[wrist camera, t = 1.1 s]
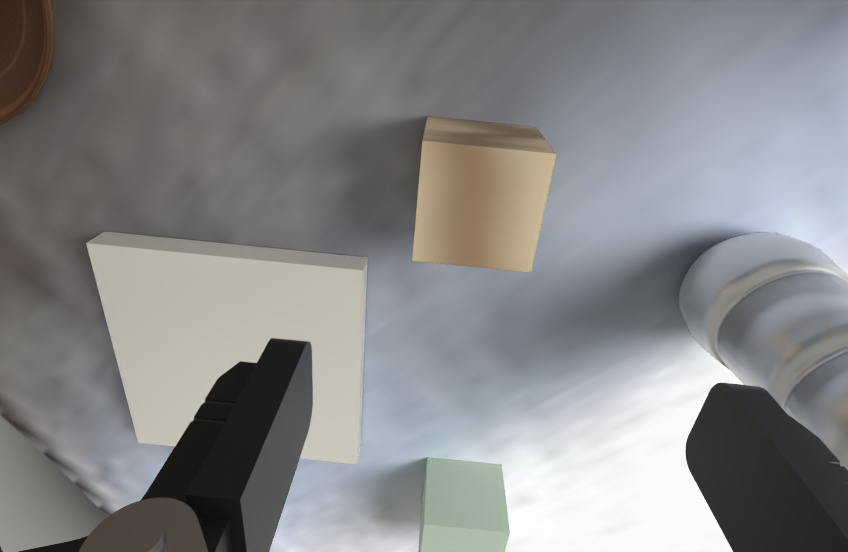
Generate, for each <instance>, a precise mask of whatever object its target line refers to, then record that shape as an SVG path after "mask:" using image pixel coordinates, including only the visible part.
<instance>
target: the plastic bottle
mask: <svg viewBox="0 0 848 552" xmlns="http://www.w3.org/2000/svg"><path fill="white" fill-rule="evenodd" d="M679 305H680V310H681V312H682V315H683V317H684V320H685V322H686V325H687V327H688V330H689V332H690V334H691V335H692V337H693V338H694V339H695V340H696V342H697V343H698V344H700V345H701V346H702V347H703V348H704V349H705V350H706V351H707V352H708V353H709V354H710V355H711V356H712V357H714V358H715V359H716V360H718V361H719V362H720V363H722V364H723V365H724V366H726V367H727V368H728V369H730V370H731V371H732V372H733V373H734V374H735V376H736V377H737V378H738V379H739V380H740V381H741V382H742V383H743V384H744V385H749V386H758V387H762V388H764V389H765V390H767V391H768V392H769V393H770V395H771V396H772V397H773V398H774V399H775V400H776V402H777V403H778V404H779V405H780V406H781V407H782V409H783V410H784V411H785V412H786V413H787V414H788V416H791V417H792V418H793V419H795V420H796V421H797V422H799V423H800V424H801V425H803V426H804V427H806V428H807V429H808V430H810V431H811V432H812V433H814V434H815V435H816V436H818V437H819V438H820V439H821V441H822V442H823V443H824V444H825V445H826V446H827V447H828V448H829V450H830V451H831V452H832V453H833V454H834V455H835V456H836V457H837V459H838V460H839V461H840V466H845V468H846V469H847V470H848V276H847V274H846V273H845V272H844V271H843V270H842V269H841V268H839V267H838V266H837V265H836V264H835V263H834V262H833V261H832V260H831V259H830V258H829V257H828V256H827V255H826V254H825V253H823V252H822V251H821V250H820V249H818V248H816V247H814V246H812V245H810V244H808V243H805V242H803V241H800V240H797V239H795V238H792V237H789V236H786V235H782V234H778V233H770V232H758V233H749V234H745V235H741V236H737V237H733V238H730V239H727V240H725V241H722V242H720V243H718V244H716V245H714V246H713V247H711V248H709V249H708V250H707V251H705V252H704V253H703V254H702V255H701V256H699V257H698V259H697V260H696V261H695V262H694V263H693V264H692V265H691V267H690V269H689V270H688V272H687V274H686V276H685V277H684V280H683V282H682V285H681V288H680V293H679Z"/></svg>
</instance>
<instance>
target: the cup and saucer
mask: <svg viewBox="0 0 848 552" xmlns="http://www.w3.org/2000/svg"><path fill="white" fill-rule="evenodd" d="M53 44H54V23H53V14H52V6H51V1H50V0H0V124H3V123H5V122H7V121H8V120H10V119H12V118H13V117H15V116H16V115H18V114H19V113H20V112H22V111H23V110H24V109H25V108H26V107H27V106H28V105H29V104H30V103H31V102H32V101H33V100H34V99H35V97H36V96H37V94H38V93H39V91H40V90H41V88H42V86H43V84H44V82H45V80H46V77H47V74H48V71H49V68H50V65H51V60H52V54H53Z"/></svg>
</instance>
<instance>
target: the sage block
mask: <svg viewBox="0 0 848 552" xmlns="http://www.w3.org/2000/svg"><path fill="white" fill-rule="evenodd" d="M509 533H510V531H509V523H508V515H507V506H506V498H505V489H504V481H503V473H502V464H492V463H482V462H472V461H461V460H451V459H441V458H430V457H427V464H426V472H425V480H424V487H423V495H422V503H421V517H420V535H419V552H505V548H506V544H507V541H508V537H509Z"/></svg>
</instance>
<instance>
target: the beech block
mask: <svg viewBox="0 0 848 552" xmlns="http://www.w3.org/2000/svg"><path fill="white" fill-rule="evenodd" d="M555 159H556V153H555V151H554V150H553V149H552V147H551V146H550V145H549V143H548V142H547V141H546V140H545V138H544V137H543V136H542V134H541V133H540V132H539V130H538V129H537V128H536V127H531V126H521V125H511V124H501V123H491V122H481V121H471V120H461V119H451V118H441V117H431V116H428V117H427V121H426V126H425V131H424V136H423V140H422V152H421V163H420V175H419V187H418V198H417V210H416V222H415V234H414V245H413V257H412V261H420V262H430V263H440V264H450V265H460V266H470V267H480V268H490V269H500V270H511V271H521V272H531V269H532V265H533V260H534V256H535V251H536V246H537V242H538V237H539V233H540V228H541V223H542V219H543V214H544V209H545V205H546V200H547V196H548V191H549V186H550V182H551V177H552V172H553V168H554V163H555Z"/></svg>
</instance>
